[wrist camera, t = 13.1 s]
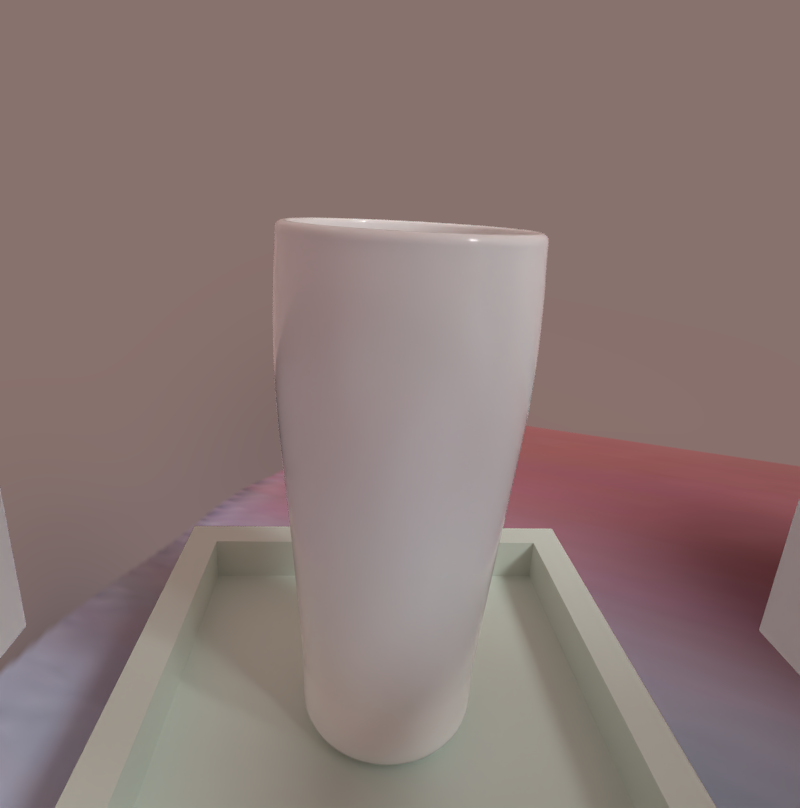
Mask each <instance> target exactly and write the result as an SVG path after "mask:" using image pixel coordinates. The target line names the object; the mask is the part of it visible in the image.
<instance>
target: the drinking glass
mask: <svg viewBox="0 0 800 808" xmlns="http://www.w3.org/2000/svg"><path fill="white" fill-rule="evenodd" d="M548 245H549V240H548V237H547V236H546V235H545V234H544V233H541V232H536V231H530V230H521V229H512V228H501V227H490V226H477V225H464V224H448V223H433V222H432V223H431V222H416V221H415V222H414V221H396V220H375V219H348V218H284V219H280V220H278V221H277V222H276V224H275V246H274V273H273V351H274V374H275V391H276V403H277V414H278V424H279V434H280V444H281V452H282V461H283V470H284V479H285V488H286V497H287V506H288V515H289V523H290V533H291V542H292V551H293V560H294V569H295V579H296V588H297V598H298V607H299V617H300V627H301V638H302V648H303V692H304V701H305V706H306V710H307V713H308V716H309V718H310V720H311V722H312V724H313V726H314V727H315V729H316V730H317V732H318V733H319V734H320V736H321V737H322V738H323V739H324V740H325V741H326V742H327V743H328V744H329V745H331V746H332V747H333V748H334V749H336V750H337V751H339V752H340V753H342V754H344V755H346V756H348V757H350V758H353V759H355V760H358V761H362V762H365V763H370V764H377V765H399V764H406V763H410V762H414V761H417V760H420V759H423V758H425V757H427V756H429V755H431V754H433V753H434V752H436V751H438V750H439V749H440V748H442V747H443V746H444V745H445V744H446V743H447V742H449V741H450V739H451V738H452V737H453V736H454V735H455V733H456V732H457V731H458V729H459V727H460V726H461V724H462V722H463V720H464V717H465V714H466V712H467V708H468V703H469V697H470V689H471V680H472V672H473V664H474V659H475V654H476V649H477V644H478V639H479V635H480V630H481V625H482V621H483V616H484V611H485V607H486V602H487V597H488V593H489V588H490V584H491V579H492V575H493V570H494V566H495V561H496V557H497V552H498V548H499V543H500V539H501V534H502V530H503V525H504V521H505V517H506V512H507V508H508V503H509V499H510V495H511V490H512V486H513V481H514V477H515V472H516V468H517V464H518V459H519V455H520V450H521V446H522V441H523V436H524V432H525V427H526V422H527V417H528V412H529V407H530V402H531V396H532V390H533V384H534V378H535V371H536V364H537V358H538V349H539V342H540V334H541V325H542V316H543V304H544V293H545V280H546V267H547V254H548Z"/></svg>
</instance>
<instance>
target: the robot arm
mask: <svg viewBox="0 0 800 808" xmlns="http://www.w3.org/2000/svg"><path fill="white" fill-rule="evenodd" d="M25 627H26V621H25V616H24V610H23V605H22V600H21V595H20V589H19V584H18V579H17V573H16V568H15V563H14V558H13V553H12V547H11V542H10V536H9V532H8V526H7V521H6V515H5V510H4V505H3V500H2V494H1V489H0V658H1V657H2V656H3V654H4V653H5V652H6V651H7V649H8V648H9V647H10V646H11V644H12V643H13V642H14V641H15V639H16V638H17V637H18V636H19V634H20V633H21V632H22V631H23V629H24V628H25ZM759 631H760V632H761V633H762V634H763V635H764V637H765V638H766V639H767V640H768V641H769V642H770V643H771V644H772V645H773V646H774V648H775V649H776V650H777V651H778V652H779V653H780V654H781V655H782V656H783V657H784V658H785V660H786V661H787V662H788V663H789V664H790V665H791V666H792V667H793V668H794V669H795V671H796V672H797V673H798V674H799V675H800V498H799V501H798V504H797V507H796V511H795V514H794V517H793V520H792V524H791V527H790V530H789V534H788V537H787V540H786V543H785V547H784V550H783V553H782V556H781V560H780V563H779V566H778V569H777V573H776V576H775V579H774V583H773V586H772V589H771V592H770V596H769V599H768V602H767V605H766V609H765V612H764V615H763V618H762V622H761V625H760V628H759Z"/></svg>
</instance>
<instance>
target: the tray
mask: <svg viewBox="0 0 800 808" xmlns="http://www.w3.org/2000/svg"><path fill="white" fill-rule="evenodd" d="M55 808H716V806H715V804H714V803H713V801H712V799H711V798H710V796H709V794H708V793H707V791H706V789H705V787H704V786H703V784H702V782H701V781H700V779H699V777H698V776H697V774H696V772H695V771H694V769H693V767H692V765H691V764H690V762H689V760H688V759H687V757H686V755H685V754H684V752H683V750H682V749H681V747H680V745H679V743H678V742H677V740H676V738H675V737H674V735H673V733H672V732H671V730H670V728H669V727H668V725H667V723H666V721H665V720H664V718H663V716H662V715H661V713H660V711H659V710H658V708H657V706H656V705H655V703H654V701H653V699H652V698H651V696H650V694H649V693H648V691H647V689H646V688H645V686H644V684H643V683H642V681H641V679H640V677H639V676H638V674H637V672H636V671H635V669H634V667H633V666H632V664H631V662H630V661H629V659H628V657H627V655H626V654H625V652H624V650H623V649H622V647H621V645H620V644H619V642H618V640H617V638H616V637H615V635H614V633H613V632H612V630H611V628H610V627H609V625H608V623H607V622H606V620H605V618H604V616H603V615H602V613H601V611H600V610H599V608H598V606H597V605H596V603H595V601H594V600H593V598H592V596H591V594H590V593H589V591H588V589H587V588H586V586H585V584H584V583H583V581H582V579H581V578H580V576H579V574H578V572H577V571H576V569H575V567H574V566H573V564H572V562H571V561H570V559H569V557H568V556H567V554H566V552H565V550H564V549H563V547H562V545H561V544H560V542H559V540H558V539H557V537H556V535H555V534H554V532H553V530H552V529H515V528H503V530H502V534H501V539H500V543H499V548H498V552H497V557H496V561H495V566H494V570H493V575H492V579H491V584H490V588H489V593H488V597H487V602H486V607H485V611H484V616H483V621H482V625H481V630H480V635H479V639H478V644H477V649H476V654H475V659H474V664H473V672H472V680H471V689H470V697H469V703H468V708H467V712H466V714H465V717H464V720H463V722H462V724H461V726H460V727H459V729H458V731H457V732H456V733H455V735H454V736H453V737H452V738H451V739H450V741H449V742H447V743H446V744H445V745H444V746H443V747H442V748H440V749H439V750H438V751H436V752H434V753H433V754H431V755H429V756H427V757H425V758H423V759H420V760H417V761H414V762H410V763H406V764H399V765H377V764H370V763H365V762H362V761H358V760H355V759H353V758H350V757H348V756H346V755H344V754H342V753H340V752H339V751H337V750H336V749H334V748H333V747H332V746H331V745H329V744H328V743H327V742H326V741H325V740H324V739H323V738H322V737H321V736H320V734H319V733H318V732H317V730H316V729H315V727H314V726H313V724H312V722H311V720H310V718H309V716H308V713H307V710H306V706H305V701H304V692H303V648H302V638H301V627H300V617H299V607H298V598H297V588H296V579H295V569H294V560H293V551H292V542H291V533H290V527H256V526H194V528H193V530H192V532H191V534H190V536H189V538H188V540H187V542H186V544H185V546H184V548H183V550H182V552H181V554H180V556H179V558H178V560H177V563H176V565H175V567H174V569H173V571H172V573H171V575H170V577H169V579H168V581H167V583H166V585H165V587H164V589H163V591H162V593H161V595H160V597H159V599H158V601H157V603H156V605H155V607H154V609H153V611H152V613H151V615H150V617H149V619H148V621H147V623H146V625H145V627H144V629H143V631H142V633H141V635H140V637H139V639H138V641H137V643H136V645H135V647H134V649H133V651H132V653H131V655H130V657H129V659H128V661H127V663H126V665H125V667H124V669H123V671H122V673H121V675H120V677H119V679H118V681H117V683H116V685H115V687H114V689H113V691H112V693H111V695H110V697H109V699H108V701H107V703H106V705H105V707H104V709H103V711H102V713H101V716H100V718H99V720H98V722H97V724H96V726H95V728H94V730H93V732H92V734H91V736H90V738H89V740H88V742H87V744H86V746H85V748H84V750H83V752H82V754H81V756H80V758H79V760H78V762H77V764H76V766H75V768H74V770H73V772H72V774H71V776H70V778H69V780H68V782H67V784H66V786H65V788H64V790H63V792H62V794H61V796H60V798H59V800H58V802H57V804H56V806H55Z"/></svg>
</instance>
